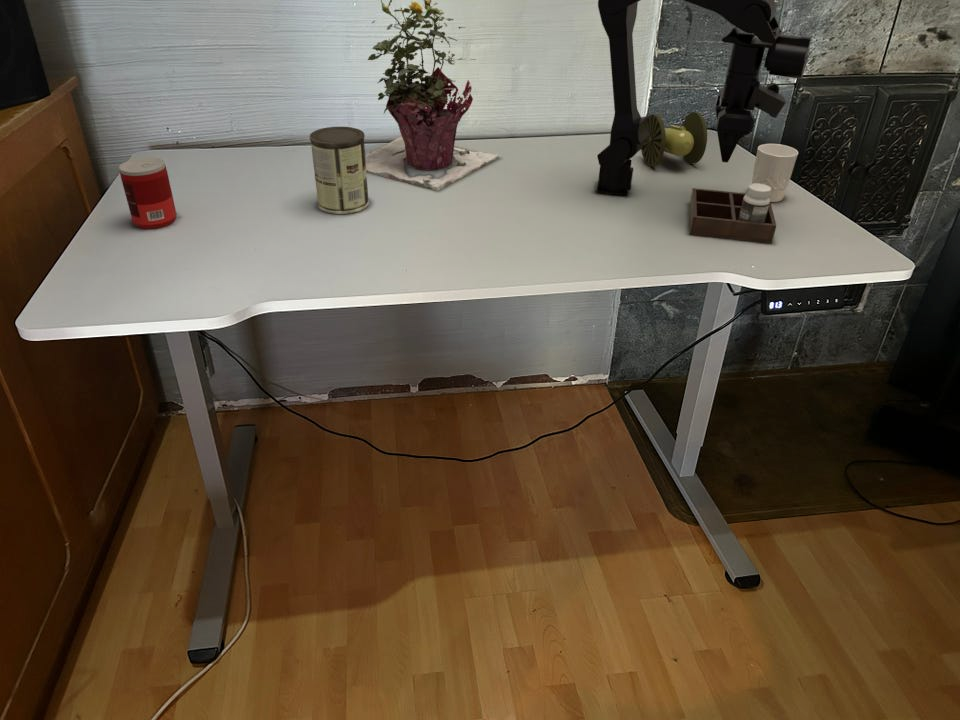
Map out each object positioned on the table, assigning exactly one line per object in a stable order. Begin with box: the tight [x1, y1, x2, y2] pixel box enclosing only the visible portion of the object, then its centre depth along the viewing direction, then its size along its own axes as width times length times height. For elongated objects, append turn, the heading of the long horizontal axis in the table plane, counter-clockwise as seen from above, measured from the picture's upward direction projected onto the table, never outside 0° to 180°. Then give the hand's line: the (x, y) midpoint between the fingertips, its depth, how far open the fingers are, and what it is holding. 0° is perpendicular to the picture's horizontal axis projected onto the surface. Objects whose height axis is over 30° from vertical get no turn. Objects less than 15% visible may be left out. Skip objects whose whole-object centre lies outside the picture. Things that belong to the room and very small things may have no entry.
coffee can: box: [309, 126, 370, 215], centre depth 145 cm, size 10×10×14 cm
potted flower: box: [365, 0, 500, 192], centre depth 161 cm, size 27×25×35 cm
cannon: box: [640, 111, 708, 167], centre depth 174 cm, size 25×12×11 cm, turn 13°
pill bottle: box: [738, 183, 771, 223], centre depth 139 cm, size 5×5×8 cm
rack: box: [688, 187, 777, 245], centre depth 145 cm, size 15×15×4 cm
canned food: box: [118, 156, 177, 230], centre depth 138 cm, size 8×8×11 cm
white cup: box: [751, 143, 799, 203], centre depth 155 cm, size 8×8×10 cm
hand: (724, 154), depth 145 cm, fingers open, 9 cm apart
